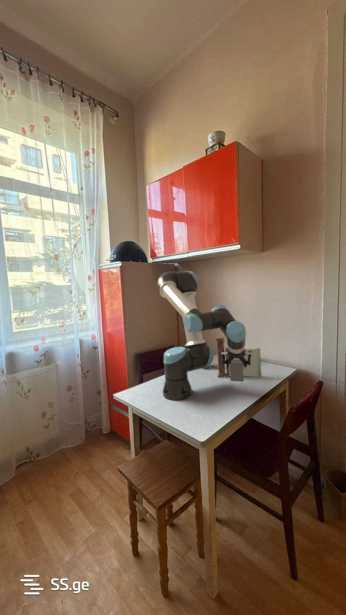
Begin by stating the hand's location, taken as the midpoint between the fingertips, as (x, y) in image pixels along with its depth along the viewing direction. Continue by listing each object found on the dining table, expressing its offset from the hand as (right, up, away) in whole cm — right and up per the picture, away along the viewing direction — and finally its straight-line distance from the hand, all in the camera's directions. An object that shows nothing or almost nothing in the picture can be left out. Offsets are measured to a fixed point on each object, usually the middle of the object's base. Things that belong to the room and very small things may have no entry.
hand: (236, 368), depth 128 cm
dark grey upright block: (-1, -4, -3) cm, 5 cm away
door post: (-3, -9, +20) cm, 23 cm away
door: (+9, -8, +17) cm, 21 cm away
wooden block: (-13, -8, +38) cm, 41 cm away
